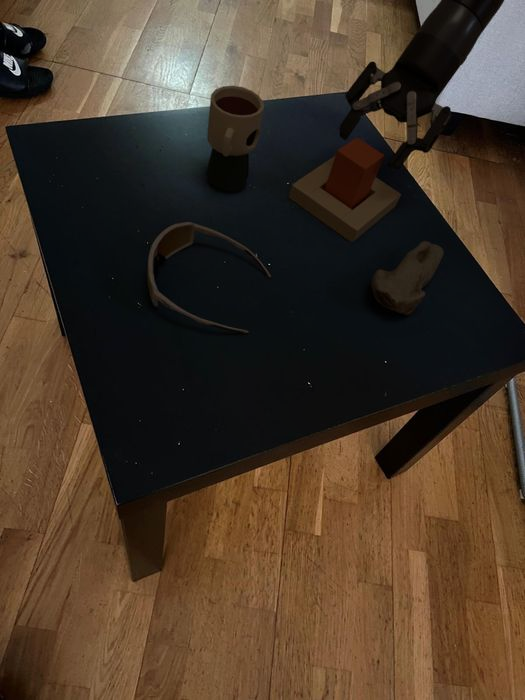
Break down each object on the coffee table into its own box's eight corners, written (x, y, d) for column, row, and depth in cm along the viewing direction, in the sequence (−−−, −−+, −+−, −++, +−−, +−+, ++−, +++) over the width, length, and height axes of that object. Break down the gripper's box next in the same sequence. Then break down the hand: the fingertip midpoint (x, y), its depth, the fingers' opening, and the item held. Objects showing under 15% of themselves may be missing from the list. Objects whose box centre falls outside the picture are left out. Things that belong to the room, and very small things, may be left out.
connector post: (364, 203, 83) (385, 155, 76) (346, 218, 81) (365, 169, 73) (339, 186, 85) (357, 137, 77) (320, 200, 82) (337, 150, 75)
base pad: (395, 206, 84) (401, 194, 82) (352, 243, 78) (357, 230, 76) (334, 165, 87) (339, 152, 85) (288, 197, 81) (291, 184, 79)
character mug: (242, 210, 78) (256, 131, 67) (195, 198, 78) (201, 117, 67) (255, 164, 84) (270, 85, 74) (211, 152, 84) (219, 72, 73)
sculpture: (399, 248, 80) (353, 300, 72) (415, 224, 77) (368, 276, 68) (440, 275, 79) (398, 332, 70) (457, 252, 75) (415, 309, 67)
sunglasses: (170, 229, 73) (176, 203, 69) (270, 276, 75) (281, 253, 71) (124, 305, 65) (128, 280, 61) (238, 355, 67) (249, 334, 63)
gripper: (393, 10, 72) (320, 117, 75) (484, 61, 68) (403, 171, 72) (398, 39, 79) (332, 136, 82) (481, 86, 75) (408, 186, 79)
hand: (365, 152), depth 77 cm, fingers open, 8 cm apart
